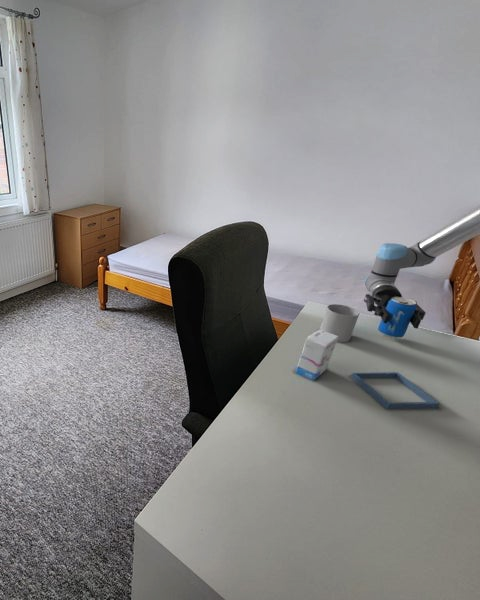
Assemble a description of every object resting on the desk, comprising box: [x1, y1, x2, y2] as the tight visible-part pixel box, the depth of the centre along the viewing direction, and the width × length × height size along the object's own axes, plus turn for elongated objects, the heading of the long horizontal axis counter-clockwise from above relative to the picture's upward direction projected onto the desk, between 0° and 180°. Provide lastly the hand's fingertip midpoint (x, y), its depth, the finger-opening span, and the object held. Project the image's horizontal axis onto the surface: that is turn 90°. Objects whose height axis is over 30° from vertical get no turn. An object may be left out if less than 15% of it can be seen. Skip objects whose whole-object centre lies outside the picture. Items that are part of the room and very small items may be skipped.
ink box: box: [294, 329, 338, 381], centre depth 93 cm, size 9×5×12 cm, turn 126°
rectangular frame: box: [350, 371, 441, 410], centre depth 87 cm, size 12×12×2 cm
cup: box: [319, 303, 360, 343], centre depth 110 cm, size 8×8×10 cm
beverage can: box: [377, 296, 417, 339], centre depth 107 cm, size 6×6×12 cm
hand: (402, 321), depth 103 cm, fingers closed on beverage can, 6 cm apart
